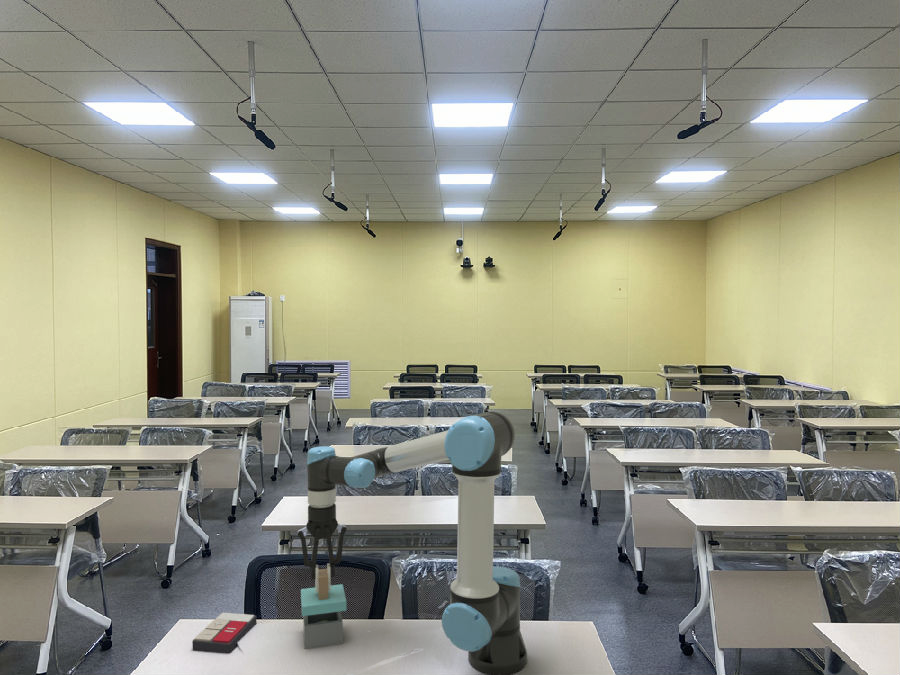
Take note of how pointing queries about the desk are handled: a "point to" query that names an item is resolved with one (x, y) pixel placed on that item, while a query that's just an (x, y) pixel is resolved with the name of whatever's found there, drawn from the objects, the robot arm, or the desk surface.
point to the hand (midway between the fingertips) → (323, 589)
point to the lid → (323, 597)
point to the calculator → (224, 633)
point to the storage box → (323, 630)
